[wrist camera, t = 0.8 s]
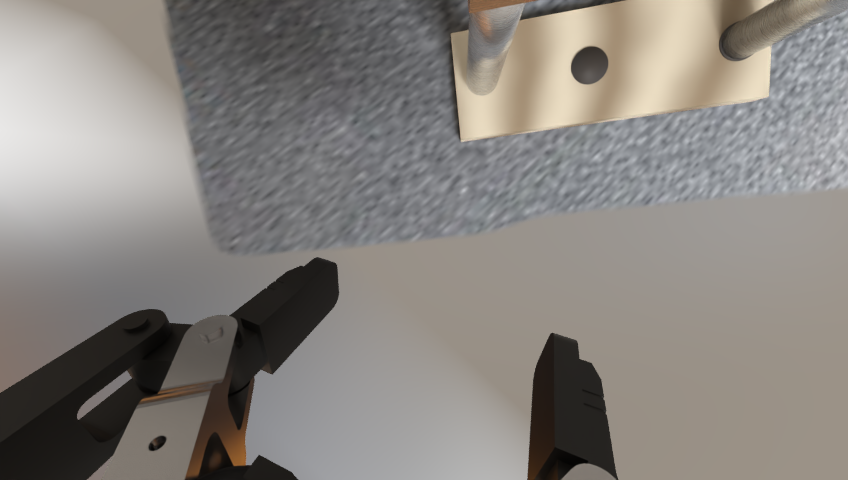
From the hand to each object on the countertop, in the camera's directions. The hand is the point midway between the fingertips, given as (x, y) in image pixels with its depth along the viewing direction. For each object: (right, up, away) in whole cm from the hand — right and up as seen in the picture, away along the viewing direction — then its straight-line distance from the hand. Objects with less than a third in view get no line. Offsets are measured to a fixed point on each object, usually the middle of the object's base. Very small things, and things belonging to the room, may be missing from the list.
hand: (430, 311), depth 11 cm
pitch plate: (+14, +16, +13) cm, 25 cm away
